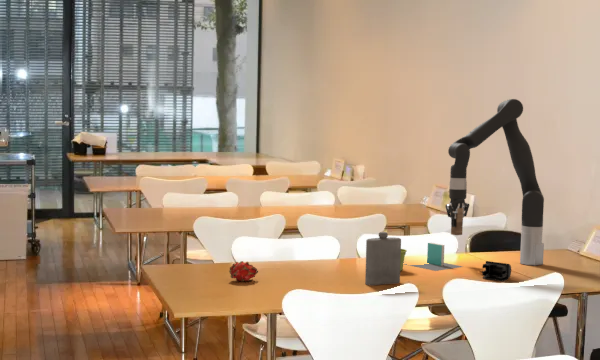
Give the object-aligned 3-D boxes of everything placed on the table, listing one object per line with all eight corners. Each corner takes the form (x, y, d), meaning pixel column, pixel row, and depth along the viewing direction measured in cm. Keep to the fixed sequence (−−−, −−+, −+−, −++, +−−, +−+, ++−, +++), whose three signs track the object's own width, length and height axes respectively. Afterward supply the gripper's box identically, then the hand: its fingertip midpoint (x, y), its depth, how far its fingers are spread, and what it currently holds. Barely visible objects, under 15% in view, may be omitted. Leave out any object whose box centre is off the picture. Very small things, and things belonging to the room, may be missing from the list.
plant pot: (388, 272, 349) (389, 252, 348) (380, 268, 358) (381, 248, 357) (409, 271, 351) (410, 251, 350) (401, 267, 360) (401, 248, 359)
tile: (443, 265, 366) (444, 245, 365) (440, 265, 365) (441, 245, 364) (430, 262, 372) (430, 242, 371) (427, 263, 371) (427, 243, 370)
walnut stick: (462, 234, 371) (463, 207, 370) (457, 235, 369) (457, 208, 368) (456, 233, 374) (457, 207, 373) (451, 234, 371) (451, 207, 370)
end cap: (511, 279, 340) (511, 263, 339) (504, 282, 334) (504, 265, 333) (488, 276, 346) (488, 260, 345) (481, 278, 340) (481, 262, 339)
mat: (463, 267, 364) (463, 266, 363) (435, 271, 352) (435, 270, 352) (426, 260, 381) (426, 259, 381) (398, 263, 370) (398, 262, 370)
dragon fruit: (225, 285, 324) (255, 288, 328) (232, 275, 317) (262, 279, 321) (225, 265, 328) (254, 268, 332) (232, 255, 322) (261, 259, 326)
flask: (394, 280, 332) (395, 230, 330) (402, 283, 327) (403, 232, 325) (361, 283, 326) (363, 232, 324) (369, 286, 320) (370, 234, 319)
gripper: (453, 189, 362) (452, 228, 363) (475, 188, 371) (473, 226, 372) (440, 188, 368) (439, 226, 369) (462, 186, 377) (460, 224, 378)
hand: (456, 226), depth 371 cm, fingers closed on walnut stick, 3 cm apart
